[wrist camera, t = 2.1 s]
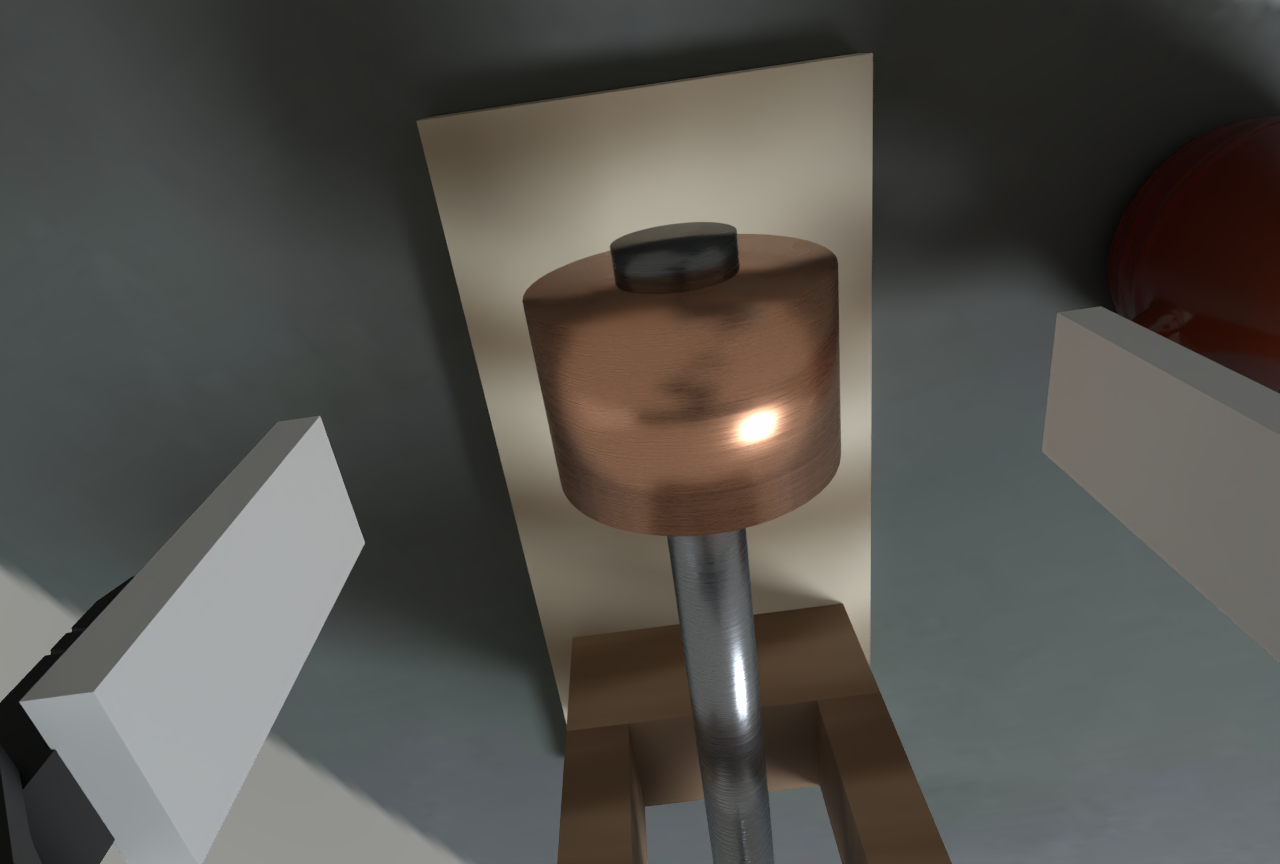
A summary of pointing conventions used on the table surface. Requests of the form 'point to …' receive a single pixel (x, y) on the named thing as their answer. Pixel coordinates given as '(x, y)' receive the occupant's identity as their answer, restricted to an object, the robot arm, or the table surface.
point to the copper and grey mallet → (698, 445)
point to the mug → (1208, 250)
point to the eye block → (792, 728)
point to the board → (587, 225)
